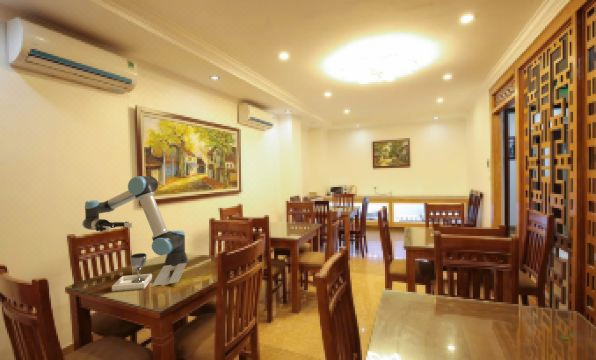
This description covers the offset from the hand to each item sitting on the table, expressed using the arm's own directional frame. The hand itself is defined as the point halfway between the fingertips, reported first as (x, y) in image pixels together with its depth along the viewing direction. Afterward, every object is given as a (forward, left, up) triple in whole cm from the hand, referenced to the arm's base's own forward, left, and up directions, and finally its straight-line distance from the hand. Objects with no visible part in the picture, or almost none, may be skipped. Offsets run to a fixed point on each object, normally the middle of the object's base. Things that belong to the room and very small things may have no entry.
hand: (120, 227), depth 185 cm
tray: (-12, +21, -30) cm, 39 cm away
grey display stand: (-32, +21, -30) cm, 49 cm away
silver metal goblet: (-14, +18, -29) cm, 37 cm away
